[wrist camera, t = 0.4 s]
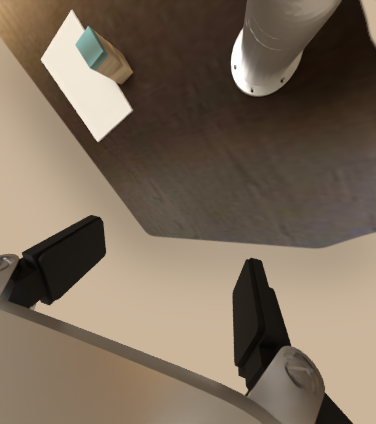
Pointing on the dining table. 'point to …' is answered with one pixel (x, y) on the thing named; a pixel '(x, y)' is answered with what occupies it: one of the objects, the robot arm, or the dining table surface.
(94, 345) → the robot arm
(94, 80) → the mat
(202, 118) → the dining table surface
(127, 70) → the block
